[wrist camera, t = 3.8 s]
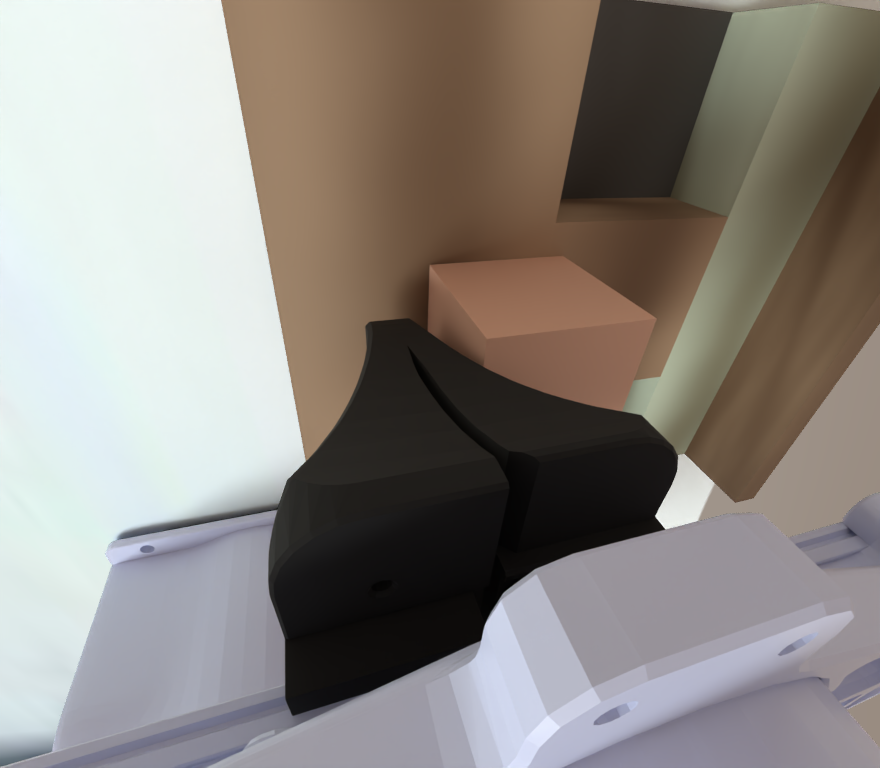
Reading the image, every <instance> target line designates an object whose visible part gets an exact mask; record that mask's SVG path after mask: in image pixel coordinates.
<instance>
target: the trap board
mask: <svg viewBox="0 0 880 768" xmlns="http://www.w3.org/2000/svg"><path fill="white" fill-rule="evenodd" d="M221 1H222V7H223V12H224V18H225V23H226V29H227V34H228V40H229V45H230V50H231V56H232V61H233V67H234V72H235V78H236V83H237V89H238V94H239V99H240V105H241V110H242V116H243V121H244V127H245V132H246V138H247V143H248V148H249V154H250V159H251V165H252V170H253V176H254V181H255V186H256V192H257V197H258V203H259V208H260V214H261V219H262V225H263V230H264V235H265V241H266V246H267V252H268V257H269V263H270V268H271V274H272V279H273V284H274V290H275V295H276V301H277V306H278V312H279V317H280V323H281V328H282V333H283V339H284V344H285V350H286V355H287V361H288V366H289V372H290V377H291V382H292V388H293V393H294V399H295V404H296V410H297V415H298V421H299V426H300V431H301V437H302V442H303V448H304V453H305V459H306V461H307V460H308V459H309V458H310V457H311V456H312V454H313V453H314V452H315V451H316V450H317V449H318V447H319V446H320V445H321V443H322V442H323V441H324V439H325V438H326V437H327V436H328V434H329V433H330V432H331V430H332V429H333V428H334V426H335V425H336V423H337V422H338V420H339V418H340V417H341V415H342V413H343V411H344V410H345V408H346V406H347V404H348V403H349V401H350V398H351V396H352V394H353V392H354V390H355V387H356V385H357V383H358V380H359V377H360V374H361V371H362V367H363V364H364V360H365V355H366V350H367V346H366V330H365V326H366V325H367V324H368V323H369V322H371V321H382V320H393V319H404V318H410V319H411V320H413V321H414V322H416V323H417V324H418V325H420V326H421V327H423V328H424V329H425V330H427V331H428V300H429V267H430V265H435V264H449V263H464V262H479V261H493V260H508V259H522V258H537V257H553V256H564V257H565V258H567V259H568V260H570V261H571V262H573V263H574V264H576V265H577V266H579V267H580V268H582V269H583V270H585V271H586V272H588V273H589V274H591V275H592V276H594V277H595V278H597V279H598V280H600V281H601V282H603V283H604V284H606V285H607V286H609V287H610V288H612V289H613V290H615V291H616V292H618V293H619V294H621V295H622V296H624V297H625V298H627V299H628V300H630V301H631V302H633V303H634V304H636V305H637V306H639V307H640V308H642V309H643V310H645V311H646V312H648V313H649V314H651V315H652V316H654V317H655V318H657V320H656V322H655V325H654V328H653V330H652V333H651V336H650V338H649V341H648V344H647V346H646V349H645V352H644V354H643V357H642V360H641V362H640V365H639V368H638V370H637V373H636V376H635V378H634V381H633V384H632V386H631V389H630V391H629V394H628V397H627V399H626V402H625V405H624V407H623V410H622V411H623V412H628V413H633V414H639V415H642V416H643V417H644V418H645V419H646V420H647V421H648V422H649V423H650V424H651V425H652V426H653V427H654V428H655V429H656V430H657V431H658V432H659V433H660V434H661V435H662V436H663V437H664V438H665V439H666V440H667V441H668V442H669V443H670V444H672V445H673V446H674V449H675V451H676V453H677V455H680V454H685V455H686V456H687V457H689V458H690V459H691V460H692V461H693V462H694V463H695V464H696V465H697V466H698V467H699V468H700V469H701V470H702V471H703V472H704V473H705V474H706V475H707V476H708V477H709V478H710V479H711V480H712V481H713V482H714V483H715V484H716V485H717V486H719V487H720V488H721V489H722V490H723V491H724V492H725V493H726V494H727V495H728V496H729V497H730V498H731V499H732V500H733V501H734V502H735V503H736V502H740V501H744V500H748V499H752V498H754V497H755V495H756V494H757V492H758V491H759V490H760V488H761V487H762V485H763V484H764V483H765V481H766V480H767V479H768V477H769V476H770V474H771V473H772V472H773V470H774V469H775V468H776V466H777V465H778V463H779V462H780V461H781V459H782V458H783V456H784V455H785V454H786V452H787V451H788V449H789V448H790V447H791V445H792V444H793V443H794V441H795V440H796V438H797V437H798V436H799V434H800V433H801V432H802V430H803V429H804V427H805V426H806V425H807V423H808V422H809V420H810V419H811V418H812V416H813V415H814V414H815V412H816V411H817V409H818V408H819V407H820V405H821V404H822V402H823V401H824V400H825V398H826V397H827V396H828V394H829V393H830V391H831V390H832V389H833V387H834V386H835V384H836V383H837V382H838V380H839V379H840V378H841V376H842V375H843V373H844V372H845V371H846V369H847V368H848V366H849V365H850V364H851V362H852V361H853V360H854V358H855V357H856V355H857V354H858V353H859V351H860V350H861V349H862V347H863V346H864V344H865V343H866V342H867V340H868V339H869V337H870V336H871V335H872V333H873V332H874V331H875V329H876V328H877V326H878V325H879V324H880V11H875V10H868V9H861V8H854V7H847V6H839V5H832V4H825V3H813V4H804V5H795V6H786V7H778V8H769V9H760V10H751V11H743V12H734V13H732V12H724V11H716V10H708V9H700V8H692V7H684V6H676V5H668V4H660V3H652V2H644V1H636V0H221Z"/></svg>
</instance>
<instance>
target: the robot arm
mask: <svg viewBox="0 0 880 768" xmlns="http://www.w3.org/2000/svg"><path fill="white" fill-rule="evenodd" d="M365 330H366V346H367V350H366V355H365V360H364V364H363V367H362V371H361V374H360V377H359V380H358V383H357V385H356V387H355V390H354V392H353V394H352V396H351V398H350V401H349V403H348V404H347V406H346V408H345V410H344V411H343V413H342V415H341V417H340V418H339V420H338V422H337V423H336V425H335V426H334V428H333V429H332V430H331V432H330V433H329V434H328V436H327V437H326V438H325V439H324V441H323V442H322V443H321V445H320V446H319V447H318V449H317V450H316V451H315V452H314V453H313V454H312V456H311V457H310V458H309V459H308V460H307V461H306V462H305V463H304V464H303V465H302V466H301V467H300V468H299V469H298V470H297V471H296V472H295V473H294V474H293V475H292V476H291V477H290V478H289V479H288V480H287V482H286V485H285V488H284V491H283V494H282V497H281V500H280V503H279V506H278V510H273V511H268V512H263V513H257V514H252V515H247V516H242V517H236V518H231V519H226V520H220V521H215V522H210V523H205V524H199V525H194V526H189V527H184V528H178V529H173V530H168V531H162V532H157V533H152V534H147V535H141V536H136V537H131V538H125V539H120V540H116V541H113V542H111V543H110V544H109V545H108V547H107V550H106V553H105V555H106V557H107V559H108V560H109V562H110V563H111V564H112V567H111V569H110V572H109V575H108V578H107V581H106V584H105V587H104V590H103V593H102V596H101V599H100V602H99V605H98V608H97V611H96V614H95V617H94V619H93V622H92V625H91V628H90V631H89V634H88V637H87V640H86V643H85V646H84V649H83V652H82V655H81V658H80V661H79V664H78V667H77V670H76V672H75V675H74V678H73V681H72V684H71V687H70V690H69V693H68V696H67V699H66V702H65V705H64V708H63V711H62V714H61V717H60V720H59V724H58V728H57V731H56V736H55V740H54V745H53V750H52V752H51V753H47V754H44V755H40V756H37V757H33V758H30V759H27V760H23V761H20V762H16V763H13V764H9V765H6V766H2V767H0V768H880V748H879V746H878V745H877V744H876V743H875V742H874V741H873V739H872V738H871V737H870V736H869V735H868V734H867V733H866V732H865V730H864V729H863V728H862V727H861V726H860V725H859V723H857V721H856V720H855V719H854V718H853V717H852V715H851V714H850V713H849V712H848V711H847V709H849V708H851V707H853V706H855V705H857V704H859V703H861V702H863V701H866V700H868V699H870V698H872V697H874V696H876V695H878V694H880V492H879V493H875V494H872V495H870V496H868V497H865V498H864V499H862V500H861V501H859V502H858V503H857V504H856V505H855V506H853V507H852V508H851V509H850V510H849V512H848V513H847V514H846V515H845V516H844V518H843V522H840V523H836V524H833V525H830V526H826V527H822V528H819V529H816V530H812V531H809V532H805V533H802V534H798V535H795V536H792V537H786V536H785V535H784V534H783V533H782V532H781V531H780V530H779V529H778V528H777V527H776V526H775V525H774V524H773V523H772V522H770V521H769V520H768V519H767V518H766V517H765V516H764V515H763V514H759V513H733V514H724V515H720V516H716V517H712V518H709V519H705V520H701V521H697V522H693V523H689V524H685V525H682V526H678V527H674V528H670V529H666V530H665V528H664V527H663V526H662V525H661V523H660V522H659V521H658V520H657V519H656V517H655V515H656V513H657V511H658V509H659V507H660V506H661V504H662V502H663V500H664V498H665V496H666V494H667V492H668V491H669V489H670V487H671V485H672V483H673V480H674V478H675V475H676V472H677V464H678V455H677V453H676V451H675V449H674V446H673V445H672V444H670V443H669V442H668V441H667V440H666V439H665V438H664V437H663V436H662V435H661V434H660V433H659V432H658V431H657V430H656V429H655V428H654V427H653V426H652V425H651V424H650V423H649V422H648V421H647V420H646V419H645V418H644V417H643V416H642V415H639V414H633V413H628V412H623V411H617V410H612V409H606V408H601V407H596V406H591V405H587V404H583V403H579V402H575V401H572V400H568V399H564V398H561V397H557V396H554V395H551V394H547V393H544V392H542V391H539V390H536V389H533V388H530V387H528V386H525V385H522V384H520V383H517V382H515V381H512V380H510V379H508V378H506V377H503V376H501V375H499V374H497V373H495V372H493V371H490V370H489V369H487V368H485V367H483V366H481V365H479V364H477V363H476V362H474V361H472V360H470V359H469V358H467V357H465V356H464V355H462V354H460V353H459V352H457V351H456V350H454V349H453V348H451V347H449V346H448V345H447V344H445V343H444V342H442V341H441V340H439V339H438V338H436V337H435V336H434V335H432V334H431V333H429V332H428V331H427V330H425V329H424V328H423V327H421V326H420V325H418V324H417V323H416V322H414V321H413V320H411V319H410V318H404V319H393V320H382V321H371V322H369V323H368V324H367V325H366V326H365Z"/></svg>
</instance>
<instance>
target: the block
mask: <svg viewBox="0 0 880 768" xmlns="http://www.w3.org/2000/svg"><path fill="white" fill-rule="evenodd" d="M656 320H657V318H655V317H654V316H652V315H651V314H649V313H648V312H646V311H645V310H643V309H642V308H640V307H639V306H637V305H636V304H634V303H633V302H631V301H630V300H628V299H627V298H625V297H624V296H622V295H621V294H619V293H618V292H616V291H615V290H613V289H612V288H610V287H609V286H607V285H606V284H604V283H603V282H601V281H600V280H598V279H597V278H595V277H594V276H592V275H591V274H589V273H588V272H586V271H585V270H583V269H582V268H580V267H579V266H577V265H576V264H574V263H573V262H571V261H570V260H568V259H567V258H565V257H564V256H553V257H537V258H522V259H508V260H493V261H479V262H464V263H449V264H435V265H430V267H429V300H428V332H429V333H431V334H432V335H434V336H435V337H436V338H438V339H439V340H441V341H442V342H444V343H445V344H447V345H448V346H449V347H451V348H453V349H454V350H456V351H457V352H459V353H460V354H462V355H464V356H465V357H467V358H469V359H470V360H472V361H474V362H476V363H477V364H479V365H481V366H483V367H485V368H487V369H489V370H490V371H493V372H495V373H497V374H499V375H501V376H503V377H506V378H508V379H510V380H512V381H515V382H517V383H520V384H522V385H525V386H528V387H530V388H533V389H536V390H539V391H542V392H544V393H547V394H551V395H554V396H557V397H561V398H564V399H568V400H572V401H575V402H579V403H583V404H587V405H591V406H596V407H601V408H606V409H612V410H617V411H622V410H623V407H624V405H625V402H626V399H627V397H628V394H629V391H630V389H631V386H632V384H633V381H634V378H635V376H636V373H637V370H638V368H639V365H640V362H641V360H642V357H643V354H644V352H645V349H646V346H647V344H648V341H649V338H650V336H651V333H652V330H653V328H654V325H655V322H656Z"/></svg>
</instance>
